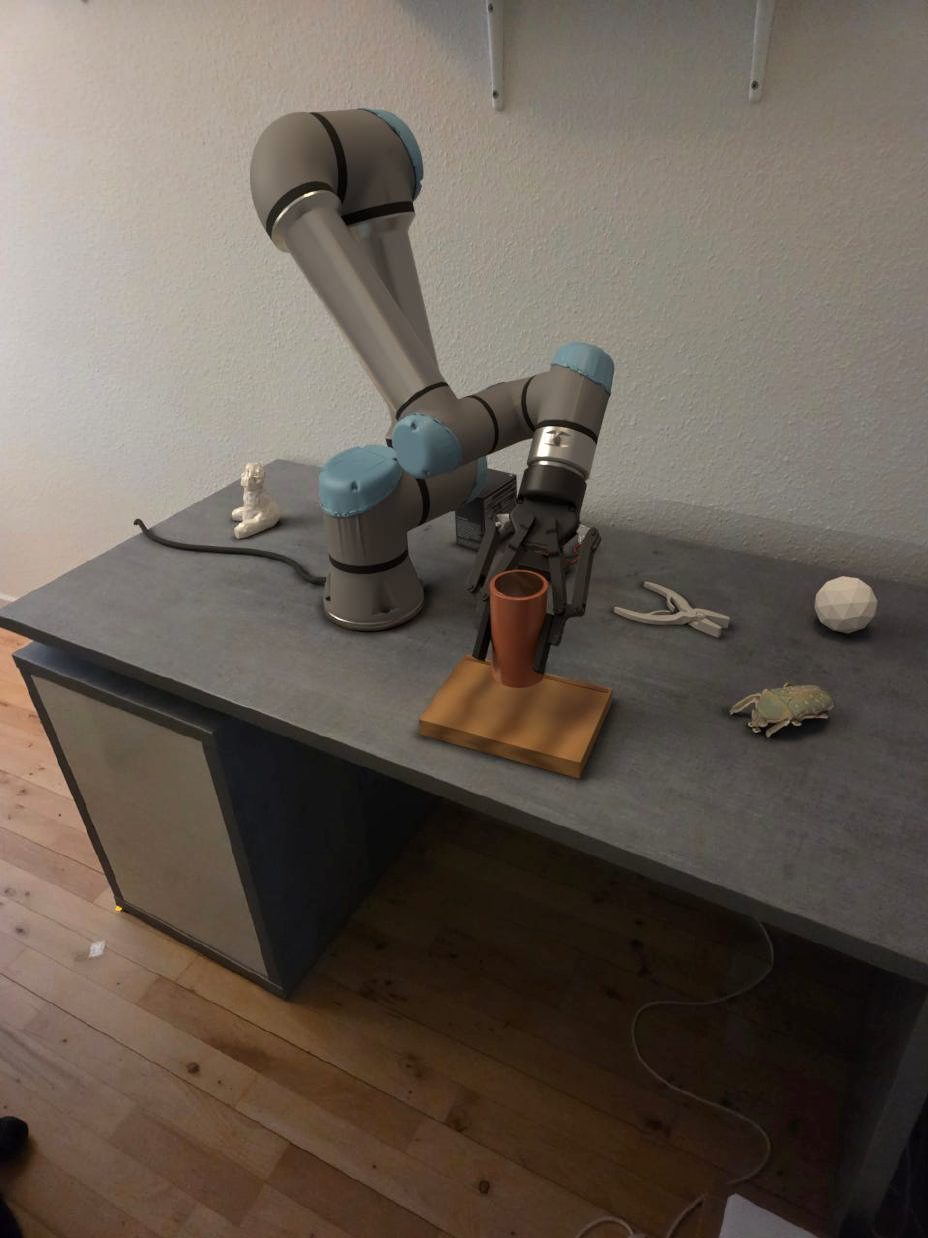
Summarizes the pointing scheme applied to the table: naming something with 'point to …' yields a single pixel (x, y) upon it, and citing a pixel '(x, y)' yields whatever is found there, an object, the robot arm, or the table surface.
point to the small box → (486, 508)
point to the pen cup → (516, 626)
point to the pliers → (679, 613)
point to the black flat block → (540, 563)
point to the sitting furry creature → (255, 504)
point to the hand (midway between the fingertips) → (507, 665)
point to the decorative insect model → (785, 706)
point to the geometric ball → (845, 604)
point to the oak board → (519, 717)
